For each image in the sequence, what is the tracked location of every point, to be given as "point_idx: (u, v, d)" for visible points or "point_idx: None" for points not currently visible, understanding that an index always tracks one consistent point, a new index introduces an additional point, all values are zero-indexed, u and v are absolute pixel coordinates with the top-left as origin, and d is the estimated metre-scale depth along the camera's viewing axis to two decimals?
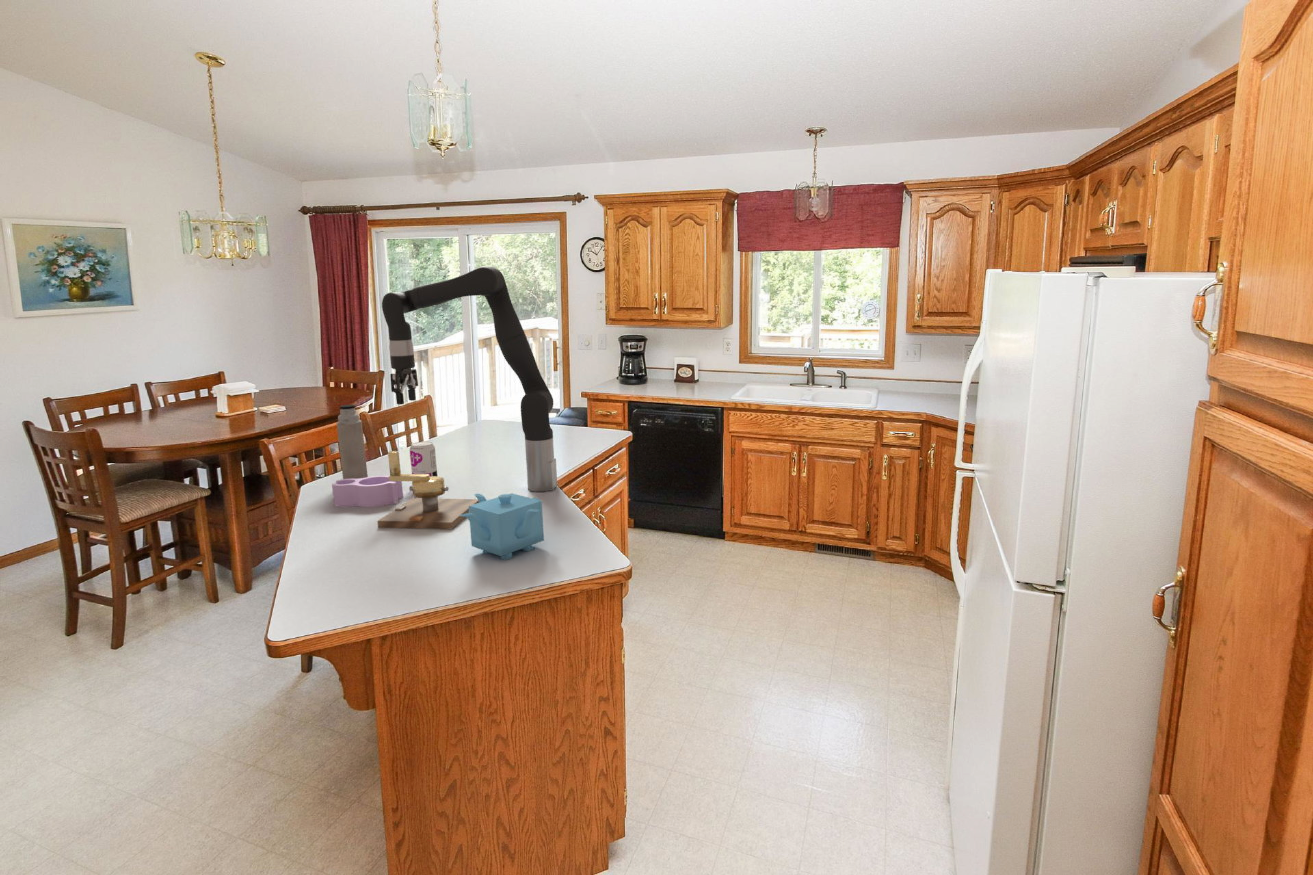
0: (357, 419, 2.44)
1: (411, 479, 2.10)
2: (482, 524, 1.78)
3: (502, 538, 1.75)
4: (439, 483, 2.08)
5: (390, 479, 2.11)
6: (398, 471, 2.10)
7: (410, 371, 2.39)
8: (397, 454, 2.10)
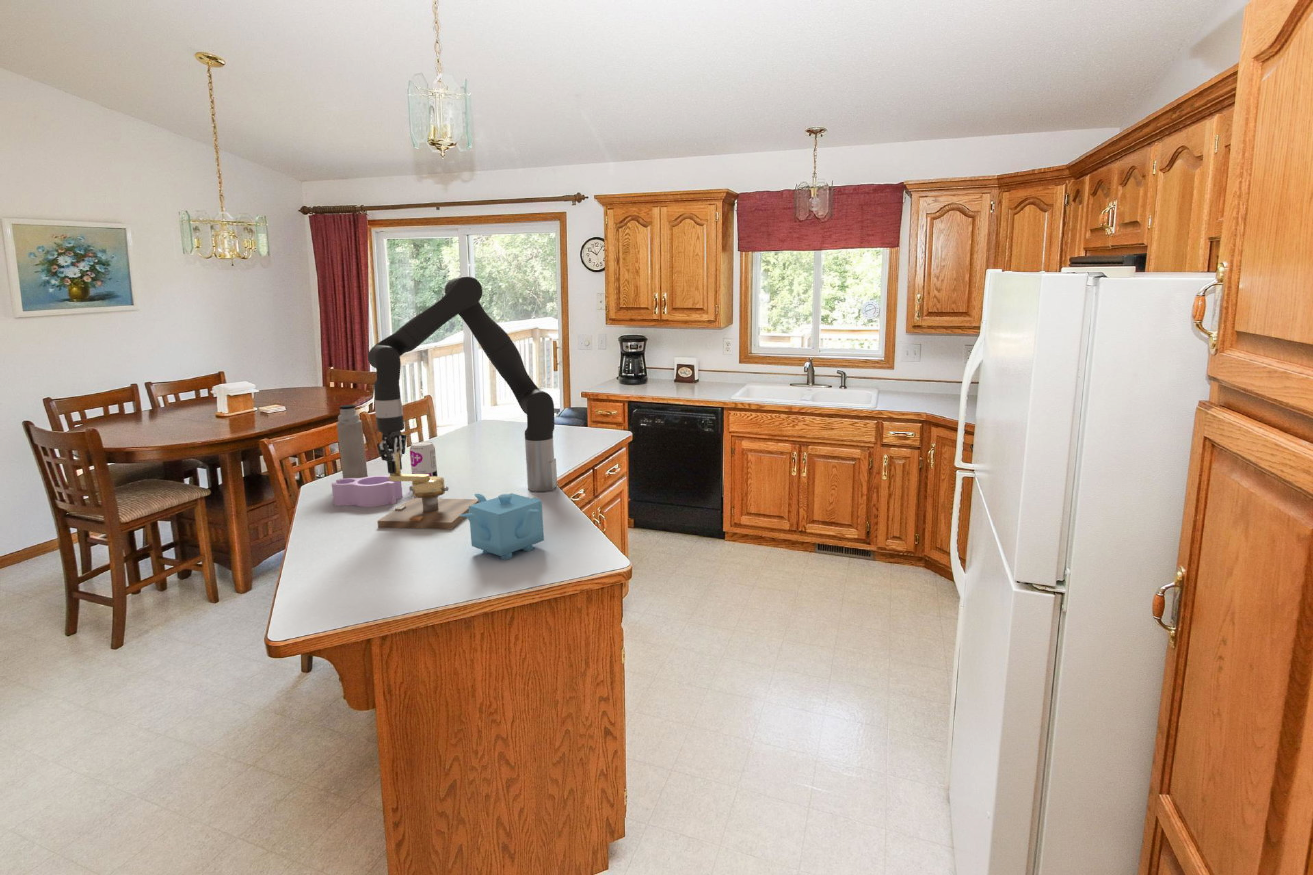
0: (357, 419, 2.44)
1: (411, 479, 2.10)
2: (482, 524, 1.78)
3: (502, 538, 1.75)
4: (439, 483, 2.08)
5: (390, 479, 2.11)
6: (398, 471, 2.10)
7: (399, 432, 2.11)
8: (397, 454, 2.10)
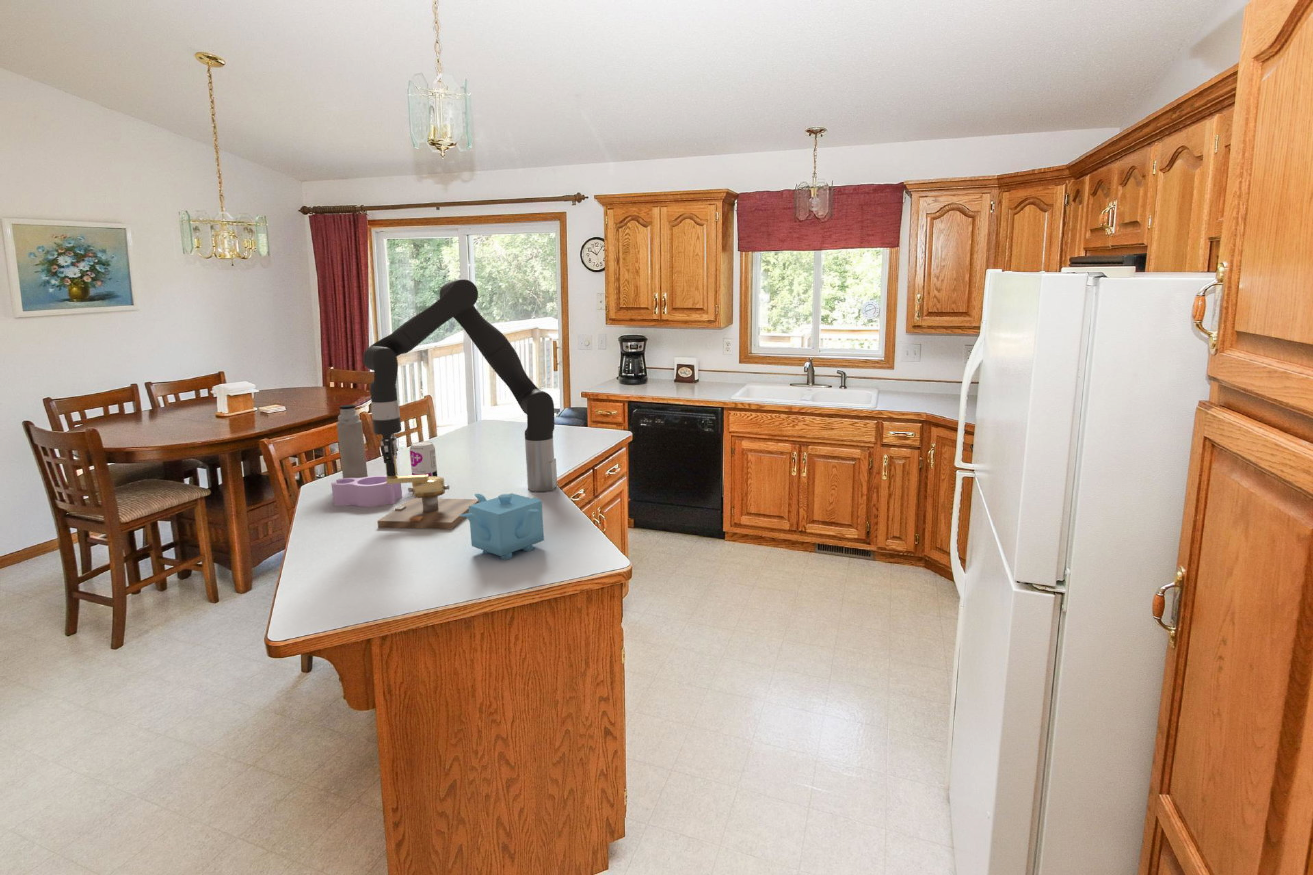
0: (357, 419, 2.44)
1: (411, 480, 2.08)
2: (482, 524, 1.78)
3: (502, 538, 1.75)
4: (442, 482, 2.10)
5: (387, 482, 2.08)
6: (396, 473, 2.08)
7: (393, 434, 2.09)
8: (395, 456, 2.07)
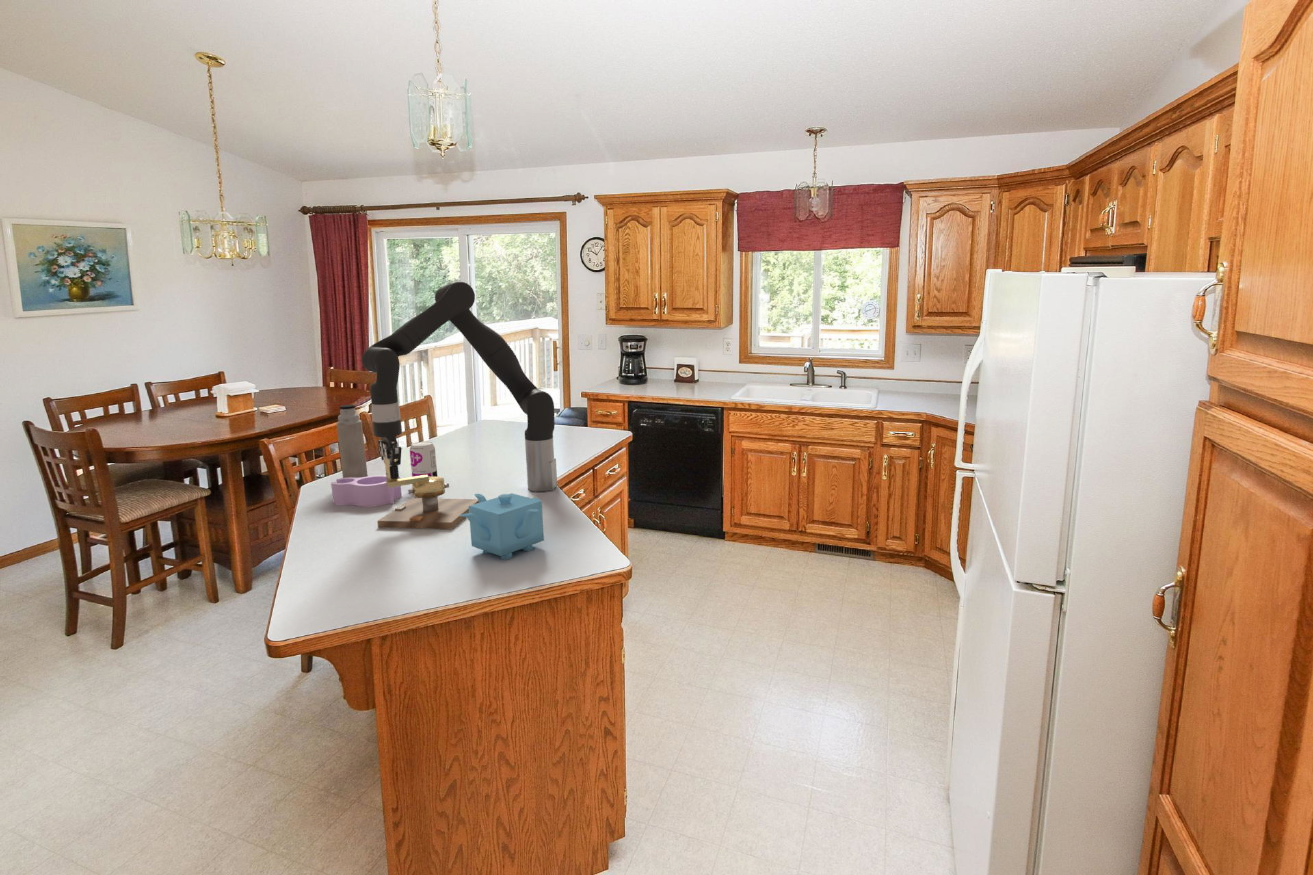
0: (357, 419, 2.44)
1: (413, 481, 2.07)
2: (482, 524, 1.78)
3: (502, 538, 1.75)
4: (443, 480, 2.11)
5: (389, 485, 2.04)
6: None
7: None
8: None
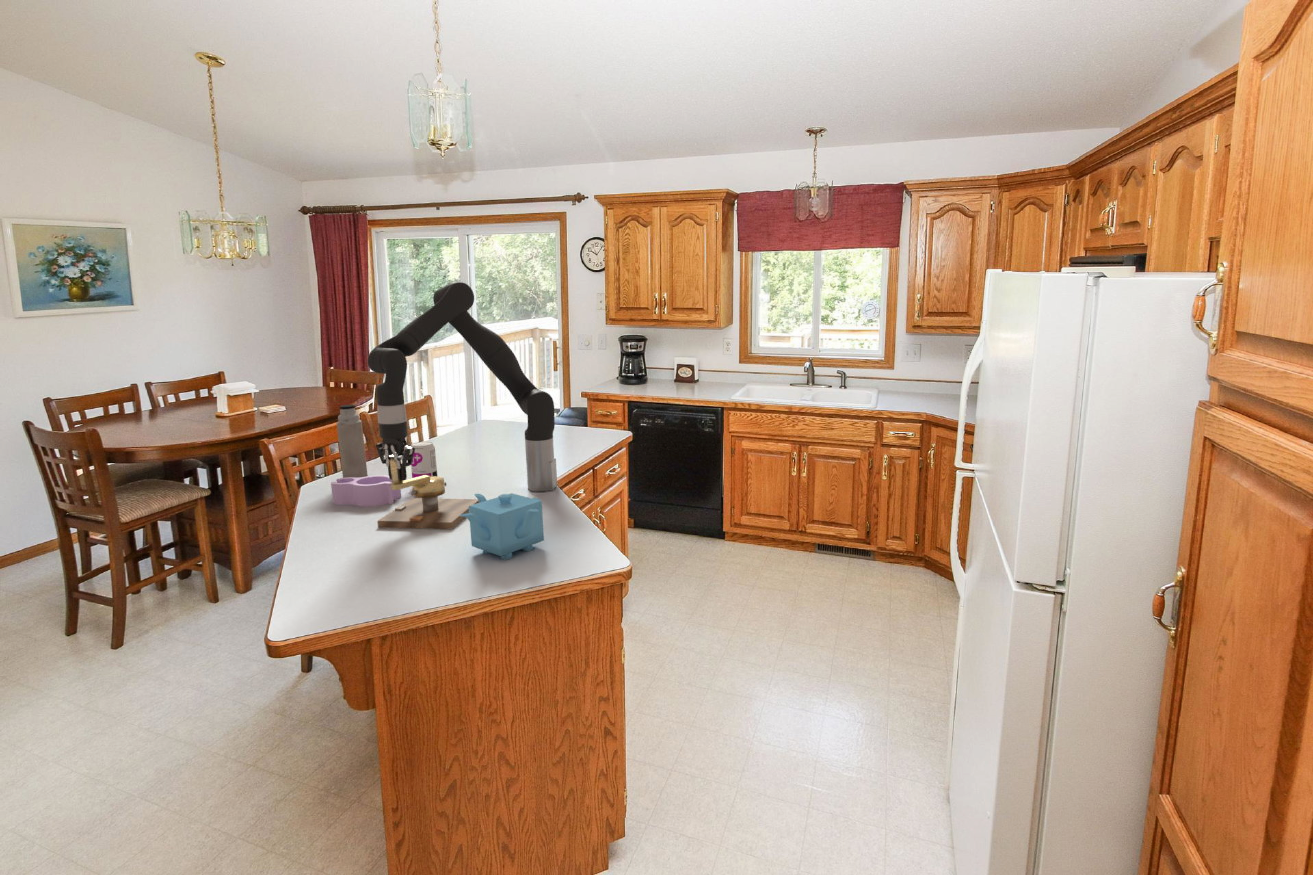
0: (357, 419, 2.44)
1: (417, 482, 2.06)
2: (482, 524, 1.78)
3: (502, 538, 1.75)
4: None
5: (397, 488, 2.01)
6: None
7: None
8: None
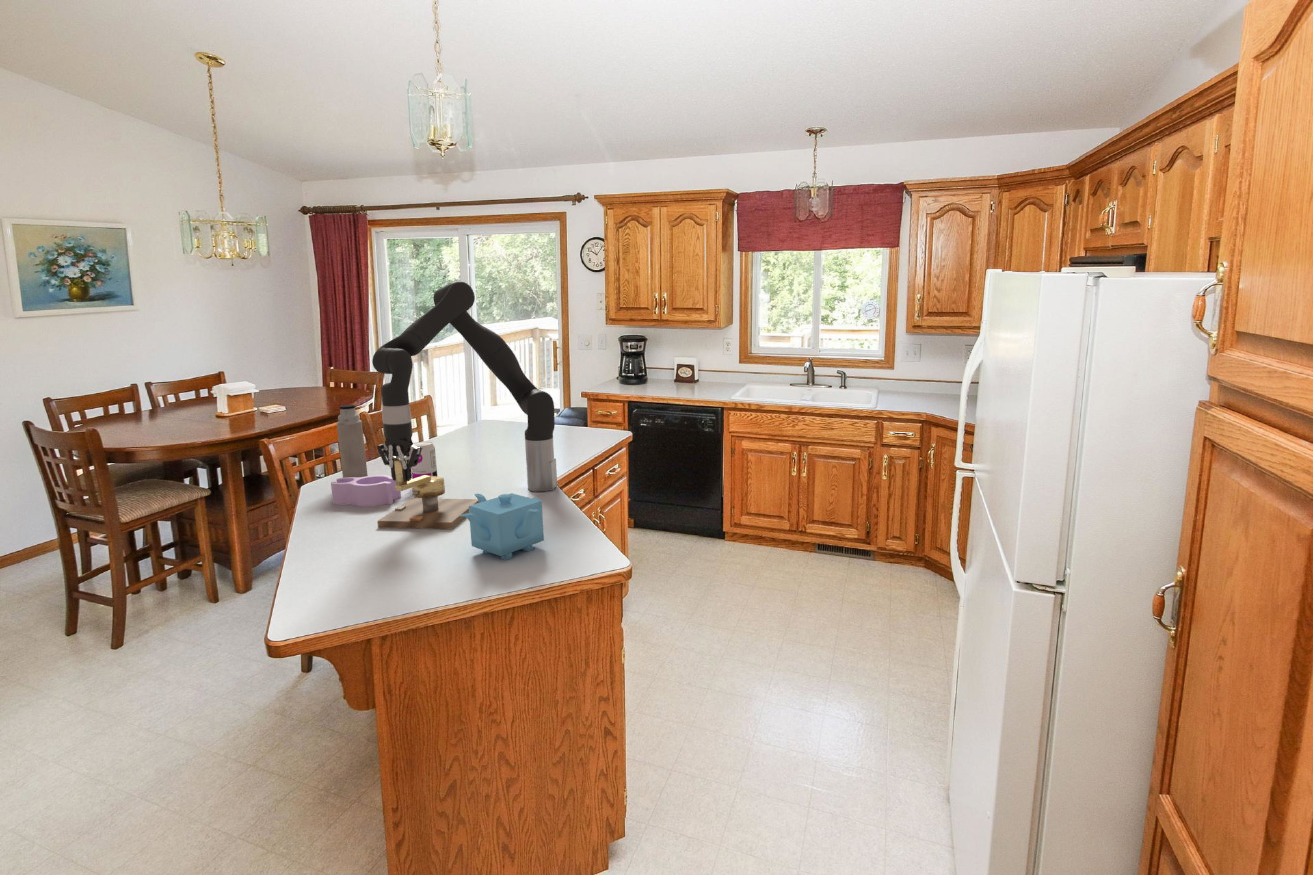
0: (357, 419, 2.44)
1: (419, 482, 2.06)
2: (482, 524, 1.78)
3: (502, 538, 1.75)
4: None
5: (402, 489, 2.00)
6: None
7: None
8: None
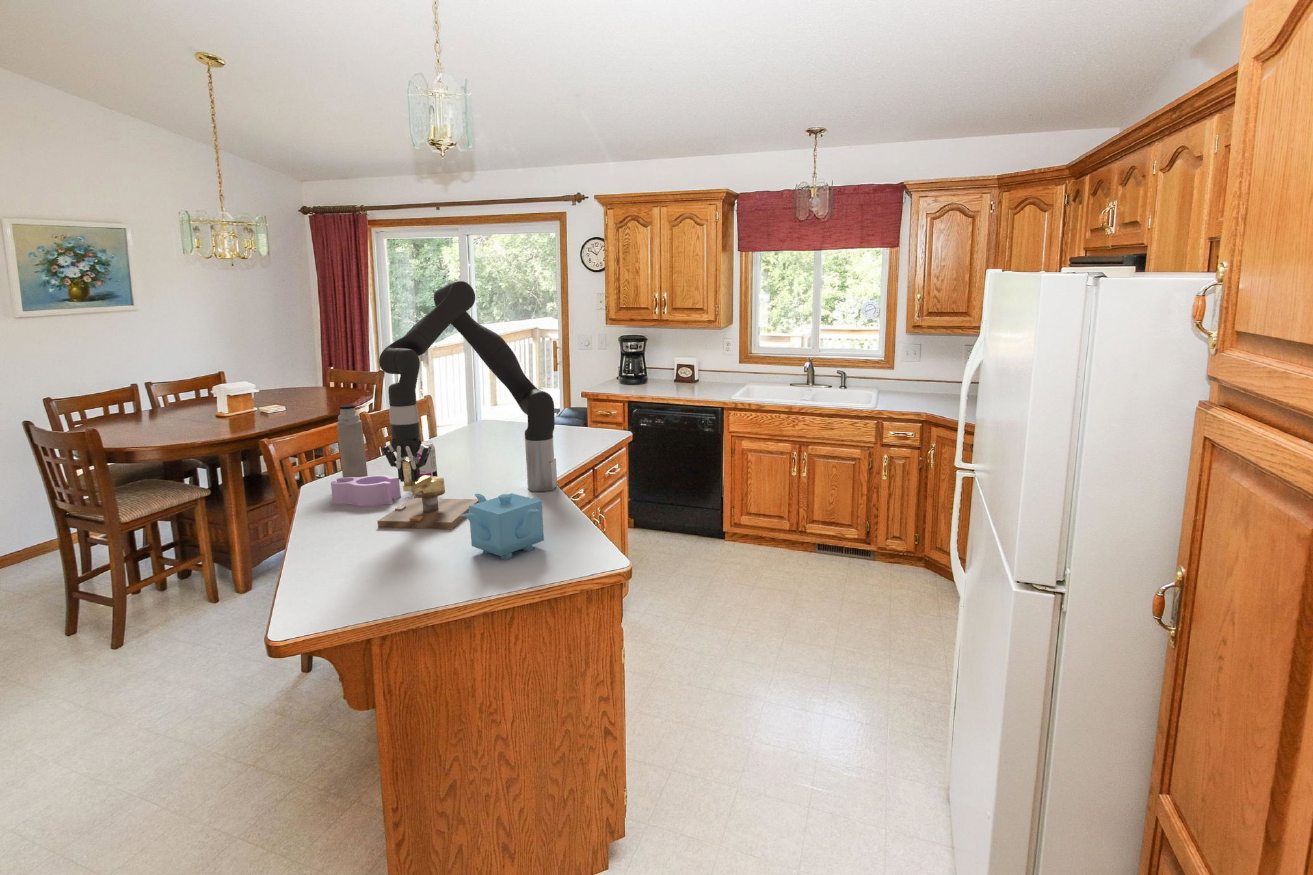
0: (357, 419, 2.44)
1: (423, 482, 2.06)
2: (482, 524, 1.78)
3: (502, 538, 1.75)
4: None
5: (411, 489, 2.00)
6: None
7: None
8: None
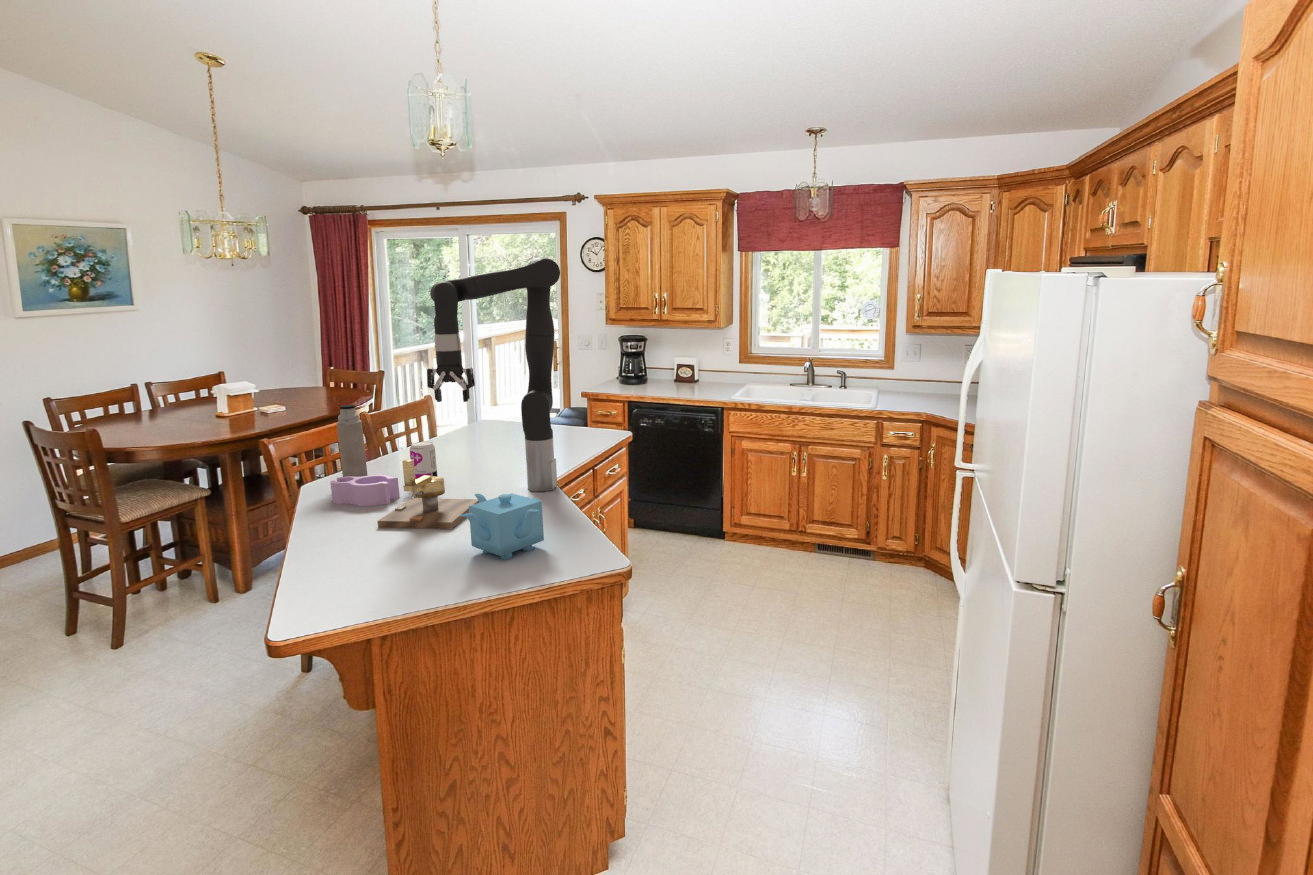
0: (357, 419, 2.44)
1: (424, 482, 2.06)
2: (482, 524, 1.78)
3: (502, 538, 1.75)
4: None
5: (412, 489, 1.99)
6: None
7: None
8: None
